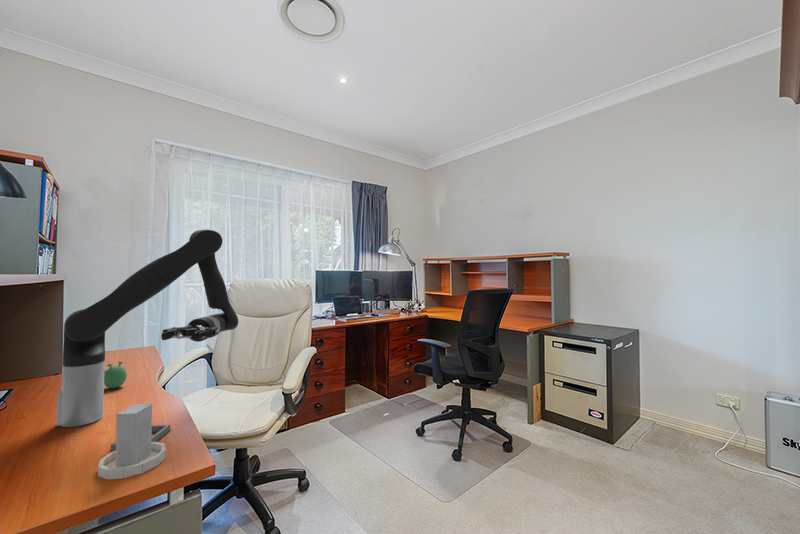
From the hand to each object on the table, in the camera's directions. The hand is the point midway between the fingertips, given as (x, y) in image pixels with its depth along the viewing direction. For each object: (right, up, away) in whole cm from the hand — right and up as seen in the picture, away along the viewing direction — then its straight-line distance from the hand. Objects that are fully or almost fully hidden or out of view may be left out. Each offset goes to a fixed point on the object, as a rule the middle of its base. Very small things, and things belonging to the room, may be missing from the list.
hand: (179, 336), depth 97 cm
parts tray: (-4, -26, -9) cm, 27 cm away
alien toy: (-47, -27, +33) cm, 64 cm away
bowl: (+3, -25, -20) cm, 32 cm away
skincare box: (+2, -25, -20) cm, 32 cm away
